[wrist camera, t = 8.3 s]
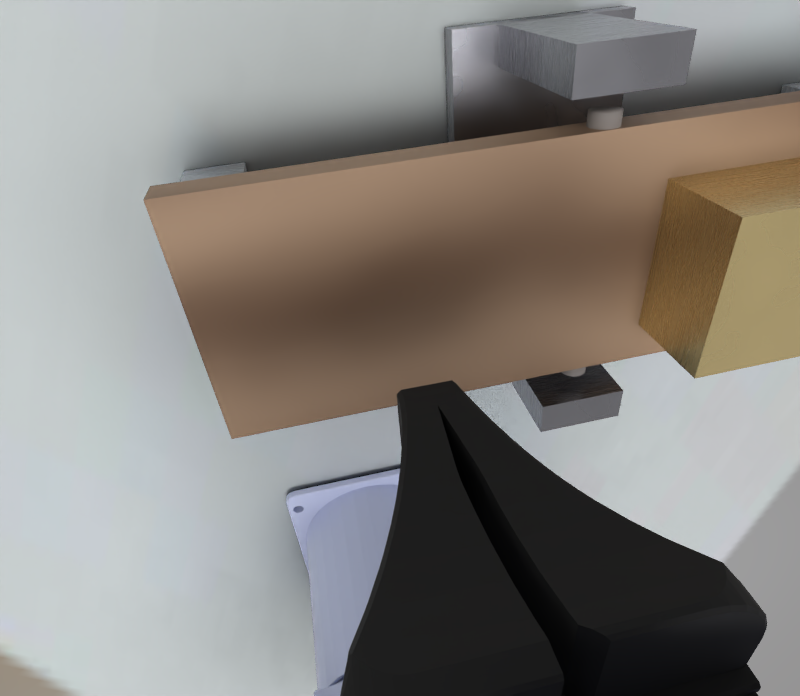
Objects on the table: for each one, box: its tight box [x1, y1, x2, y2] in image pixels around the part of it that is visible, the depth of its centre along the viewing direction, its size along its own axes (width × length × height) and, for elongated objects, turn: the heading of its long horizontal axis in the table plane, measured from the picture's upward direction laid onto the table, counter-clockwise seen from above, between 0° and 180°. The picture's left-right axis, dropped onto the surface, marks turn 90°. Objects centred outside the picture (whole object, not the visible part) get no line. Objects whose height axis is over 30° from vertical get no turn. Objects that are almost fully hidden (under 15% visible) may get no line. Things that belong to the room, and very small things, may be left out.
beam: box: [144, 91, 800, 439], centre depth 16 cm, size 9×24×4 cm, turn 95°
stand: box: [180, 6, 800, 432], centre depth 19 cm, size 12×24×6 cm, turn 95°
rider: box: [638, 157, 800, 378], centre depth 16 cm, size 5×6×3 cm
